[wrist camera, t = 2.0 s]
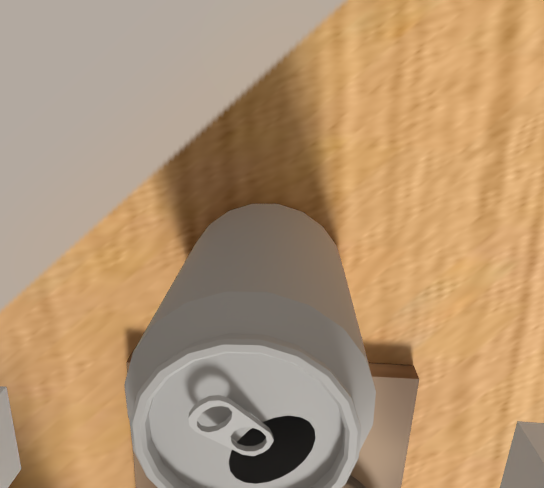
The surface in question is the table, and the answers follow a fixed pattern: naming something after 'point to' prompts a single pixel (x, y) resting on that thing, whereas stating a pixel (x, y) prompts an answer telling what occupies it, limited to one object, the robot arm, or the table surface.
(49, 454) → the table surface
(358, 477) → the board
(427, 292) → the table surface
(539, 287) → the table surface
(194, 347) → the can
